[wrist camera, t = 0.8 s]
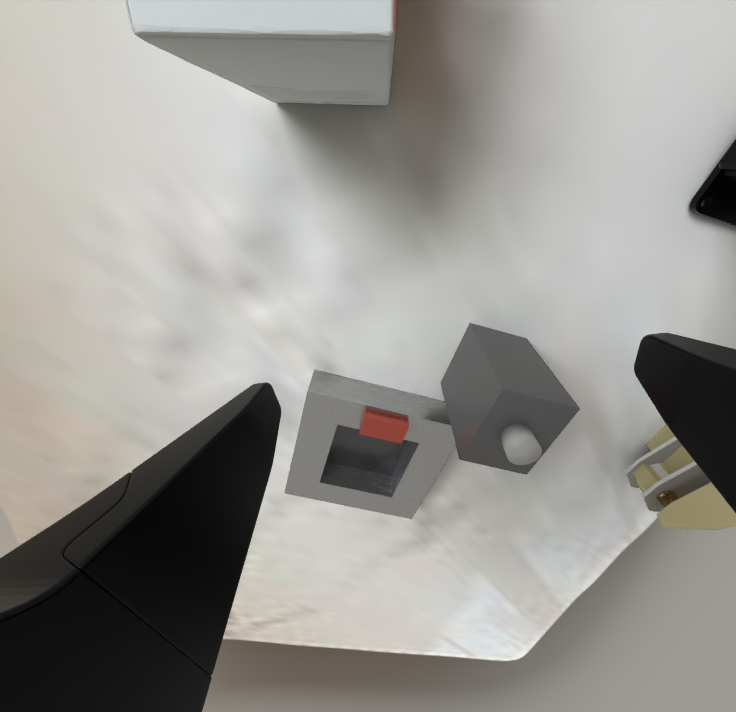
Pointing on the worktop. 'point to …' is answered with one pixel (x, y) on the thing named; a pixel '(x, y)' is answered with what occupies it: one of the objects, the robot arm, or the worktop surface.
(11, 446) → the worktop surface
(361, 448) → the socket plate
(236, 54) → the small box
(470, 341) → the plug
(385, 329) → the worktop surface
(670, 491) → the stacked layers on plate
